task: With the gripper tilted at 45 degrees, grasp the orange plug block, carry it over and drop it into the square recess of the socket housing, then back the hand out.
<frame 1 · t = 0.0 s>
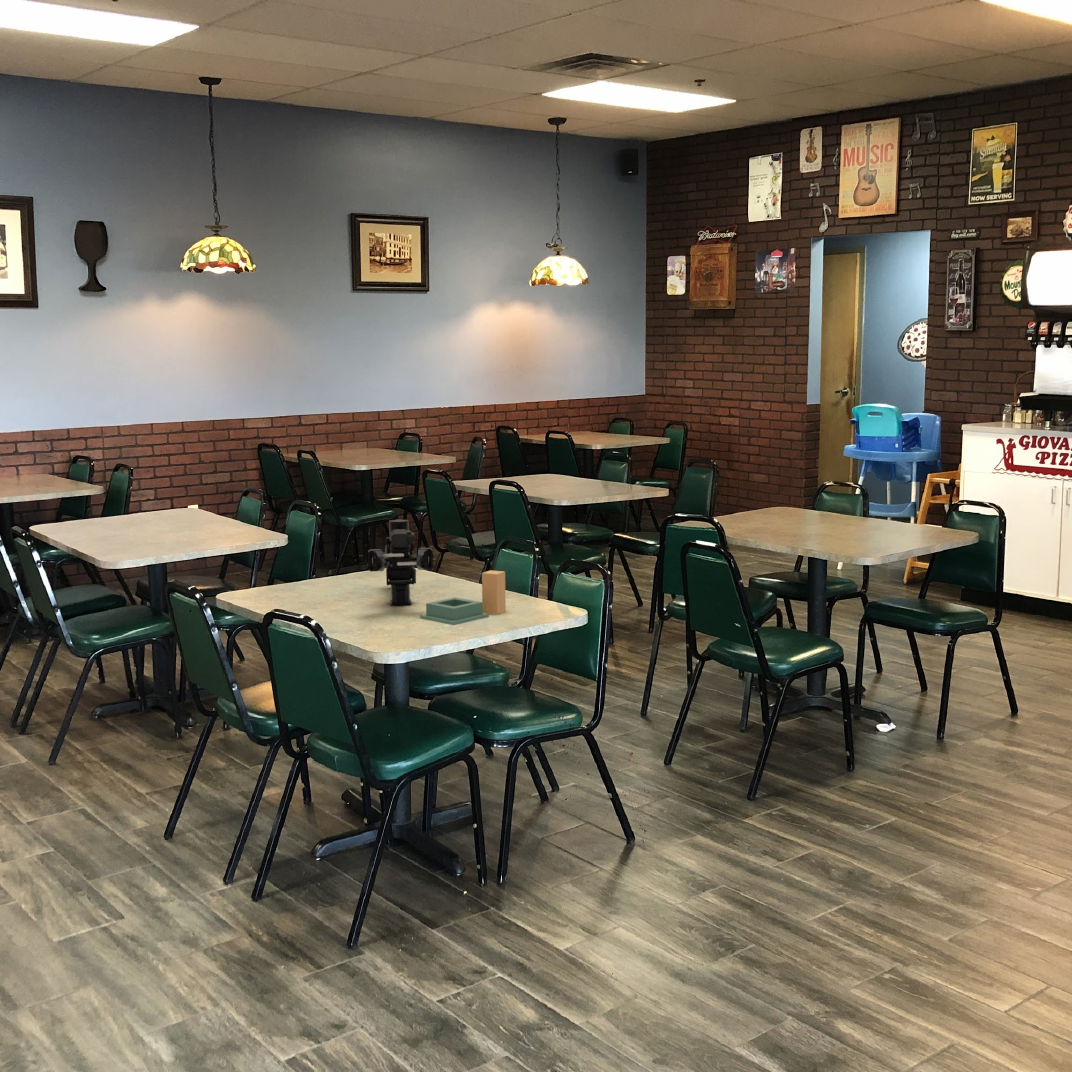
hand: (401, 564, 345), 16 cm above the table, fingers open, 9 cm apart
plug: (494, 612, 357), on the table
socket housing: (454, 617, 351), on the table
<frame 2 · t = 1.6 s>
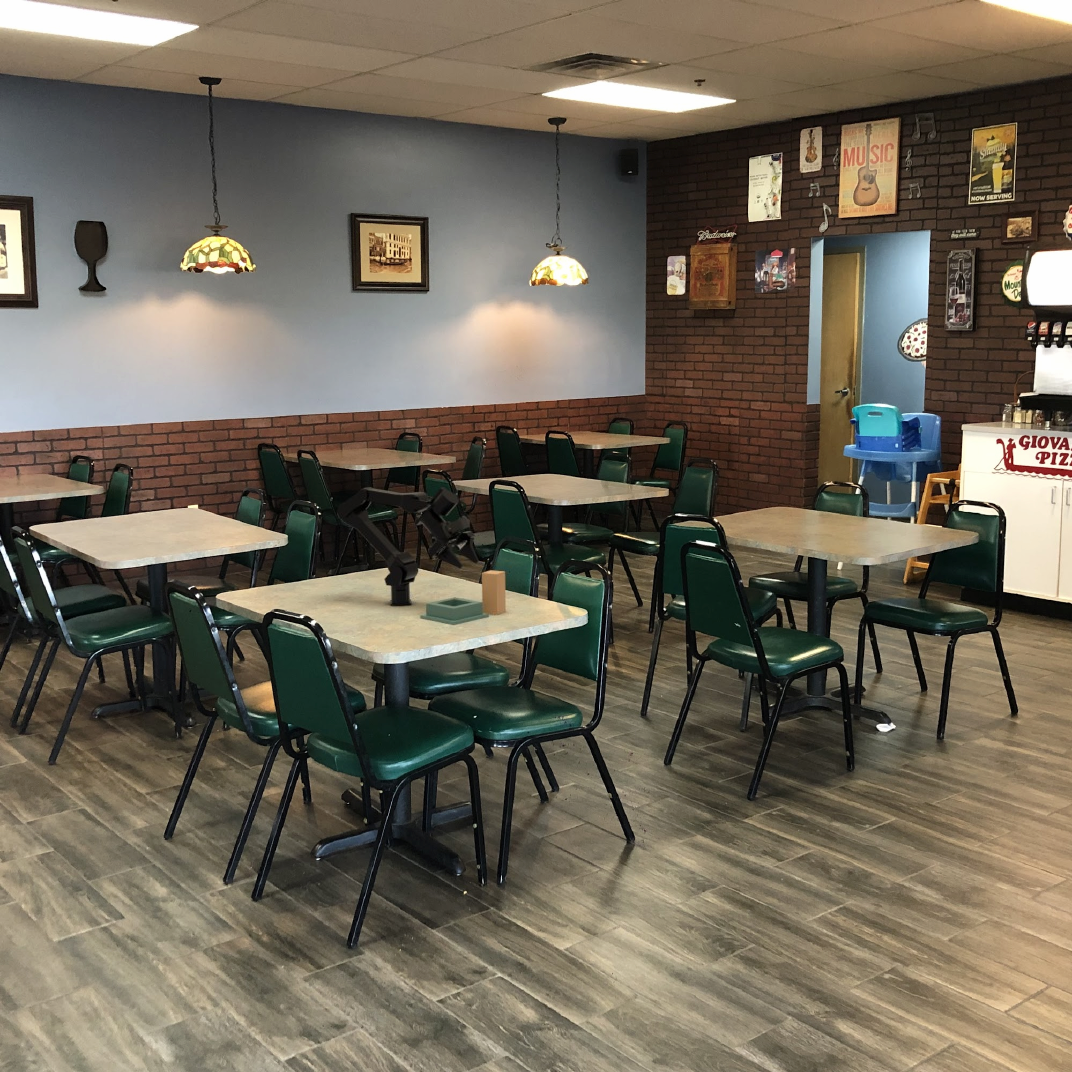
hand: (469, 565, 359), 14 cm above the table, fingers open, 9 cm apart
nothing on the table moved.
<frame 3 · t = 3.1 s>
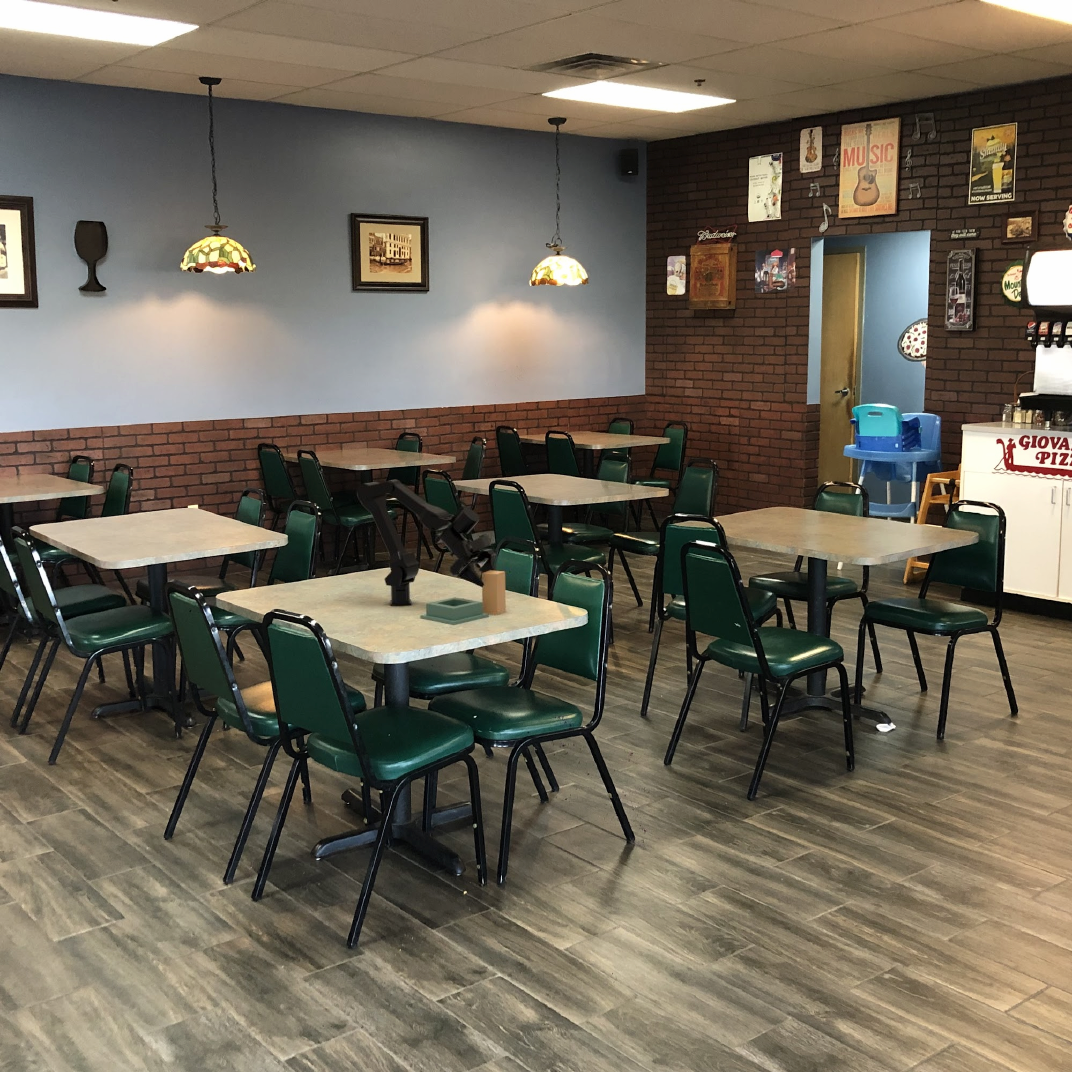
hand: (490, 583, 356), 9 cm above the table, fingers open, 9 cm apart
nothing on the table moved.
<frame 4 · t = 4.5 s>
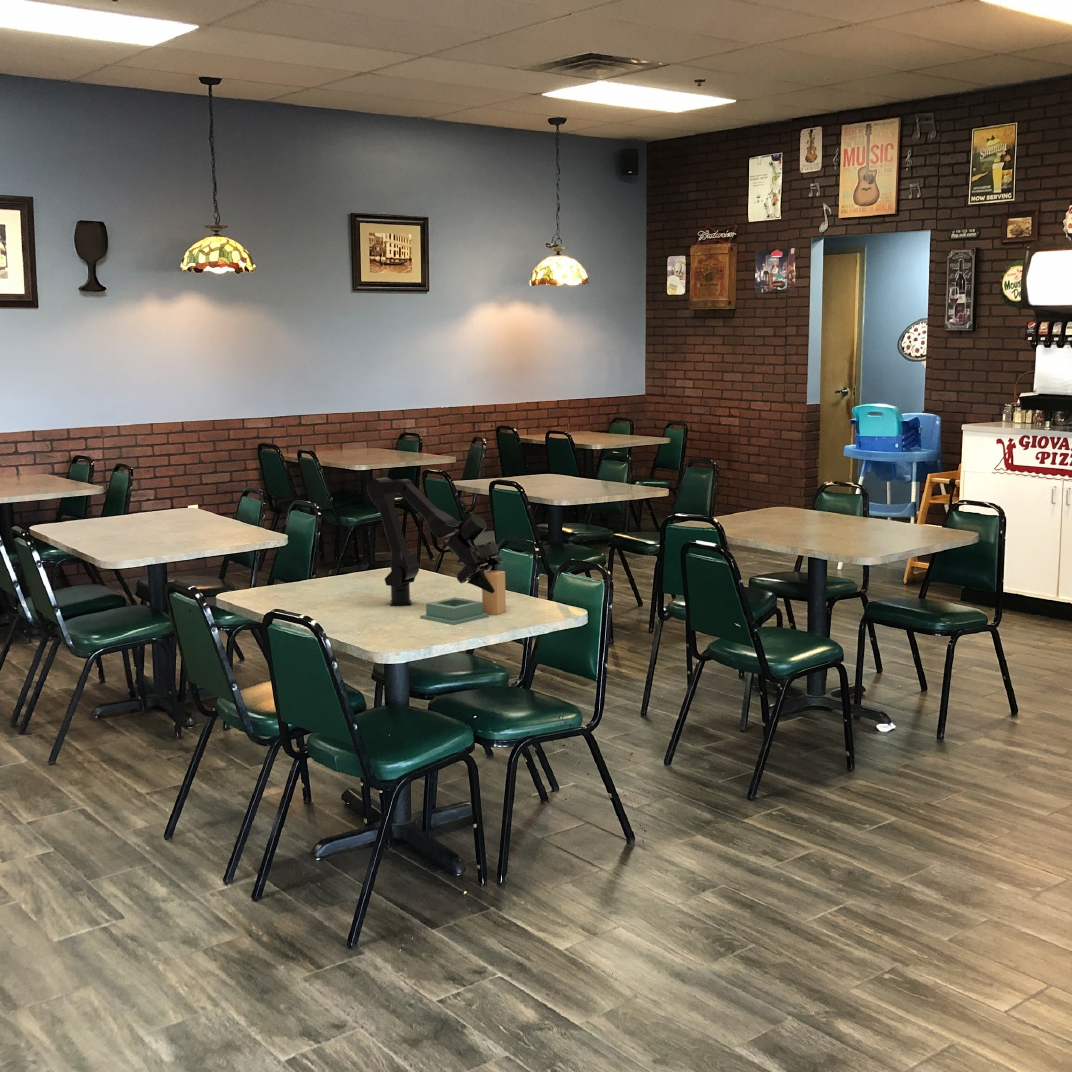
hand: (497, 590, 355), 7 cm above the table, fingers closed on plug, 5 cm apart
plug: (494, 612, 357), on the table, touching gripper
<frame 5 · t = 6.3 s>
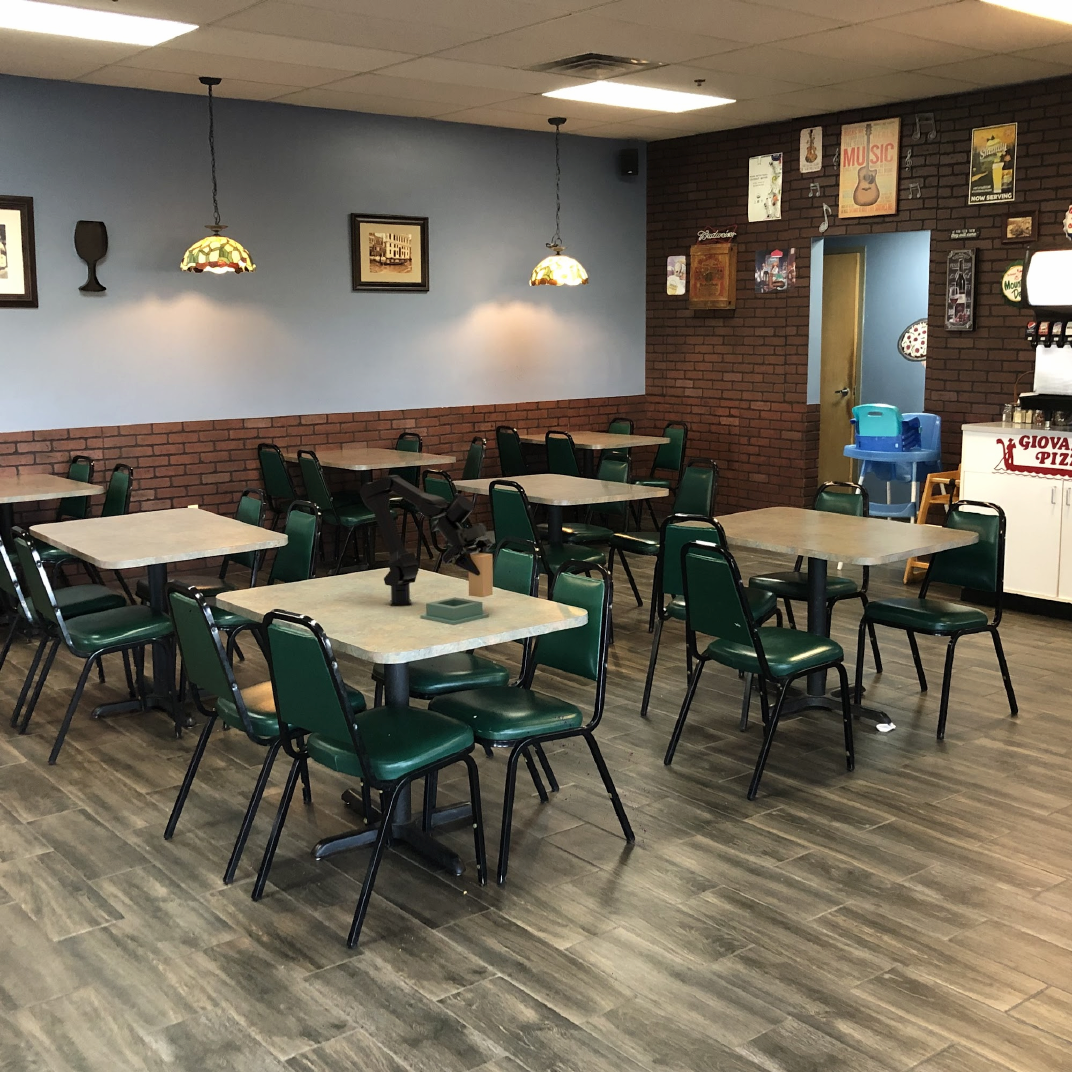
hand: (484, 573, 352), 12 cm above the table, fingers closed on plug, 5 cm apart
plug: (480, 595, 354), point 6 cm above the table, touching gripper
when the fingers open (8 cm above the table, at t = 8.2 s): plug drops 1 cm, resting on socket housing.
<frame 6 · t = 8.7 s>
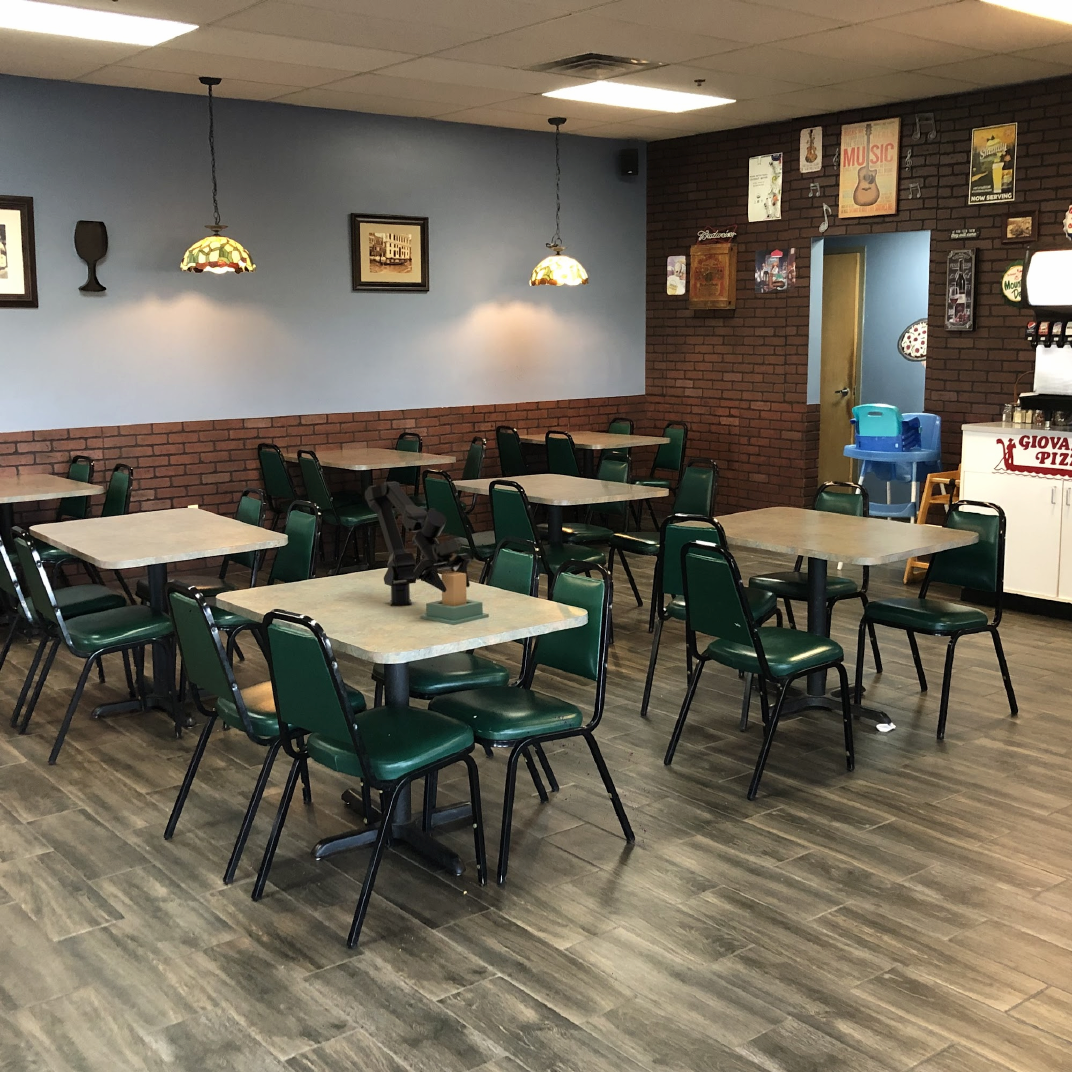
hand: (457, 588, 348), 9 cm above the table, fingers open, 9 cm apart
plug: (454, 614, 350), point 1 cm above the table, touching socket housing
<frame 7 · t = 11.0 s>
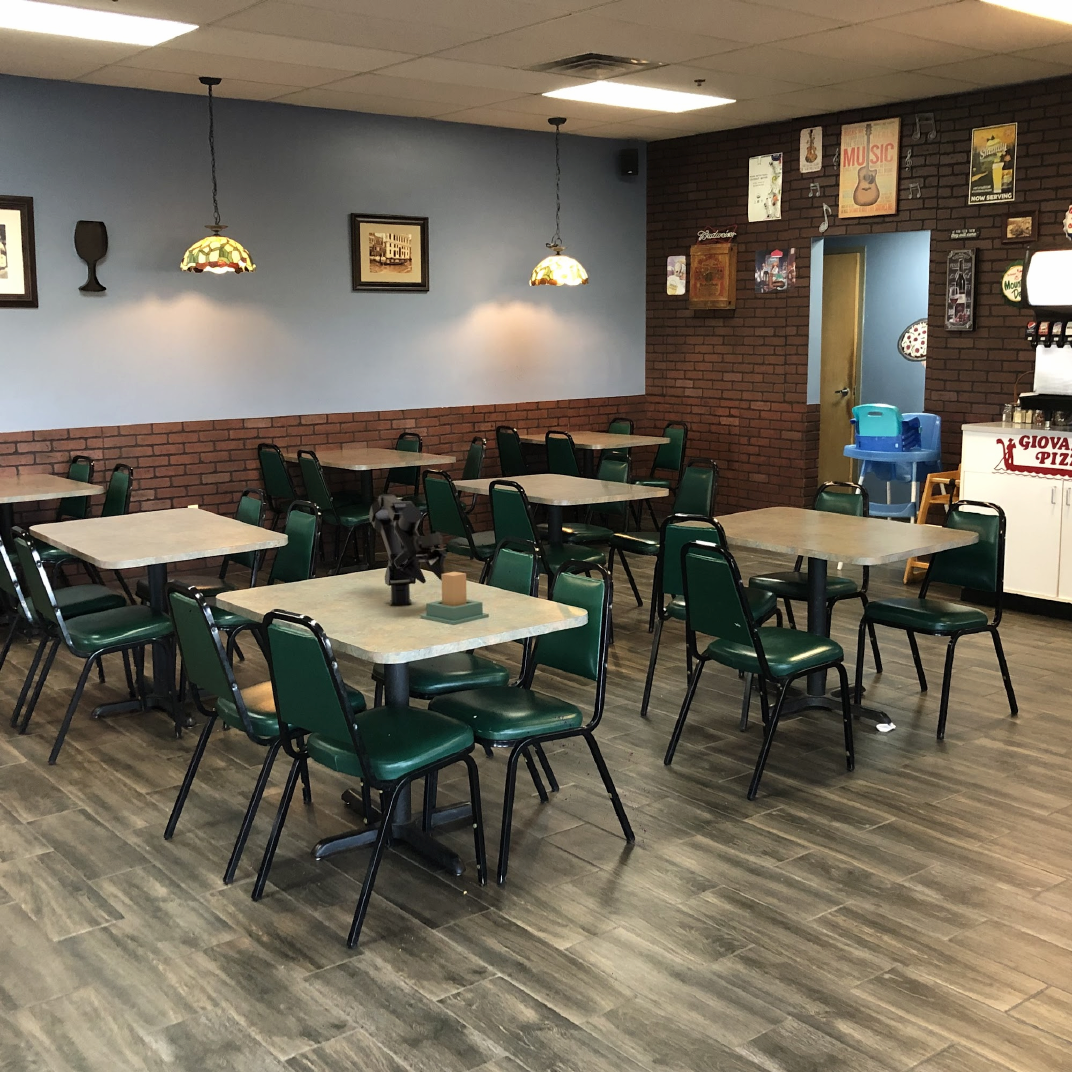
hand: (434, 581, 355), 9 cm above the table, fingers open, 9 cm apart
nothing on the table moved.
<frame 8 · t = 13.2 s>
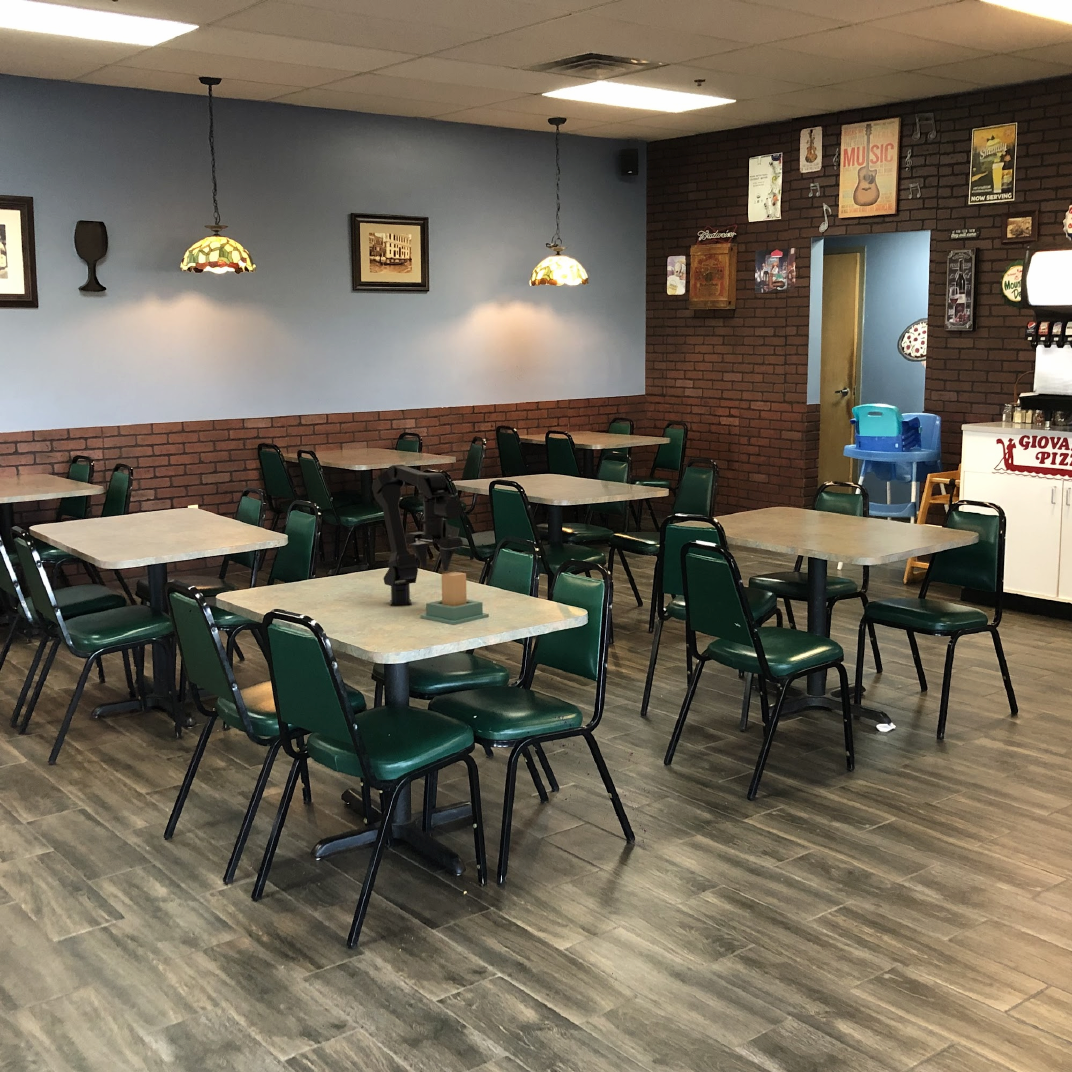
hand: (434, 569, 356), 13 cm above the table, fingers open, 9 cm apart
nothing on the table moved.
at the end: plug 0.1 cm off-centre on the socket housing, point 0.8 cm above the socket housing's base; plug tilted 0°; the gripper is holding nothing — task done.
